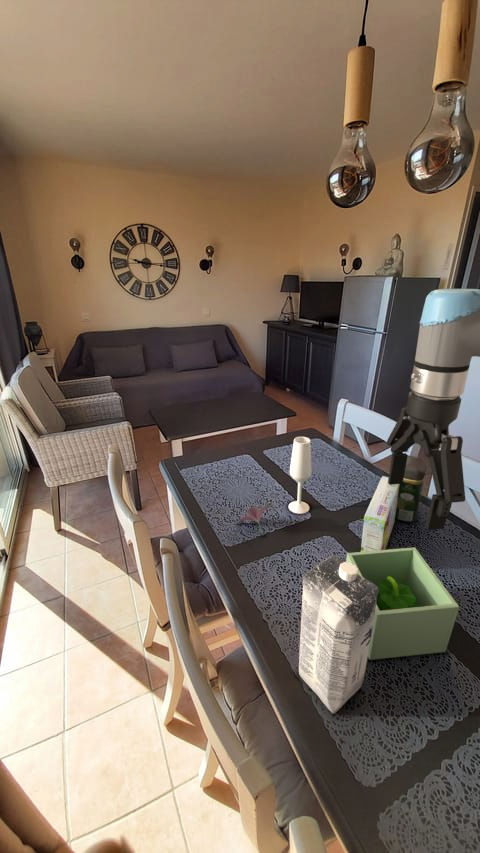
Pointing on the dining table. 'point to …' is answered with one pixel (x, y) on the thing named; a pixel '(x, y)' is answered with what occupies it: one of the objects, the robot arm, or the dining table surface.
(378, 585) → the bell pepper
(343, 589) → the juice carton
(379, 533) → the snack box
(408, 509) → the coffee jar
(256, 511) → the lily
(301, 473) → the champagne flute
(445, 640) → the open storage box
